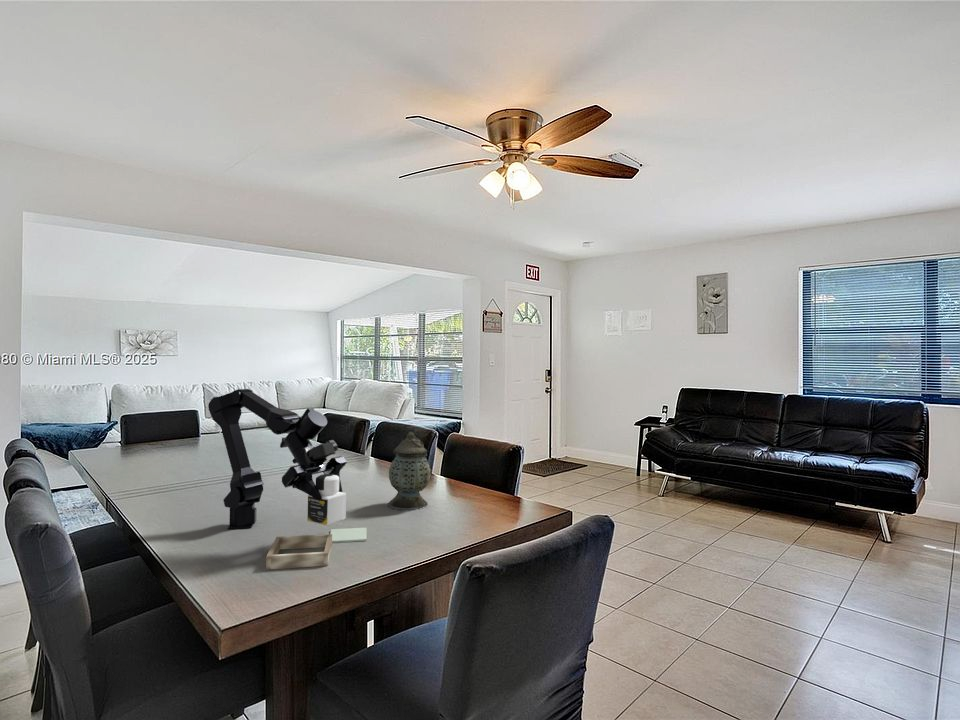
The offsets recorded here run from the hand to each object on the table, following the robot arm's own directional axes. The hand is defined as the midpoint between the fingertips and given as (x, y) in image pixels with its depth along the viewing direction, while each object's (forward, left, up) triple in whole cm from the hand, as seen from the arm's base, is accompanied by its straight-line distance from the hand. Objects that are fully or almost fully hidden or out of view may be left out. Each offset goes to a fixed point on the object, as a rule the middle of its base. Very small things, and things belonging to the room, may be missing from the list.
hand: (331, 496), depth 141 cm
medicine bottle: (-1, +1, -7) cm, 7 cm away
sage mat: (+4, +8, -13) cm, 16 cm away
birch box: (-7, -6, -13) cm, 16 cm away
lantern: (+23, +37, -13) cm, 46 cm away
